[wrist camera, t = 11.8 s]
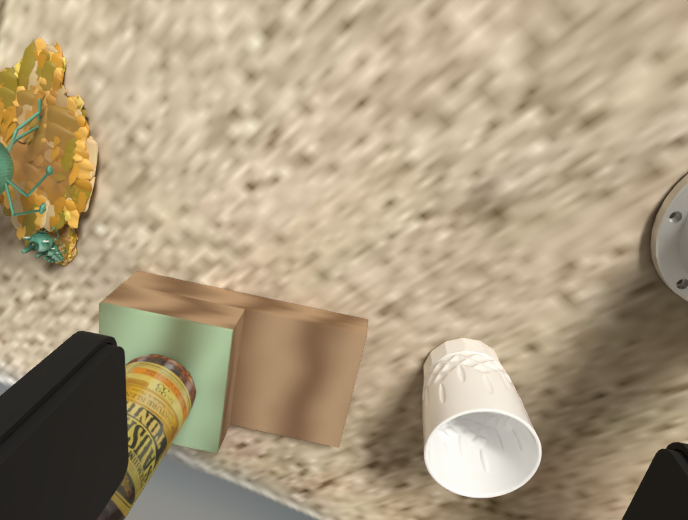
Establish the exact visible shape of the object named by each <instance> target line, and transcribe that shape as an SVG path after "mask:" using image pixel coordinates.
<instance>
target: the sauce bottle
mask: <svg viewBox="0 0 688 520" xmlns="http://www.w3.org/2000/svg"><path fill="white" fill-rule="evenodd" d="M125 369H126V398H127V426H128V454H129V462H128V468H127V471H126V474H125V476H124V479H123V481H122V482H121V484H120V485H119V487H118V489H117V490H116V492H115V493H114V495H113V496H112V498H111V499H110V501H109V502H108V504H107V505H106V507H105V508H104V510H103V511H102V513H101V514H100V516H99V517H98V519H97V520H124V518H125V517H126V516H127V514H128V513H129V511H130V509H131V508H132V506H133V505H134V503H135V502H136V500H137V498H138V497H139V495H140V494H141V492H142V490H143V489H144V487H145V486H146V484H147V482H148V481H149V479H150V478H151V476H152V474H153V473H154V471H155V470H156V468H157V466H158V465H159V463H160V461H161V460H162V458H163V457H164V455H165V453H166V452H167V450H168V449H169V447H170V445H171V444H172V442H173V441H174V439H175V437H176V436H177V434H178V433H179V431H180V429H181V428H182V426H183V424H184V423H185V421H186V420H187V418H188V416H189V414H190V410H191V408H192V406H193V404H194V401H195V397H196V388H195V384H194V381H193V379H192V377H191V375H190V373H189V372H188V371H187V370H186V368H185V367H184V366H182V365H181V364H180V363H178V362H176V361H174V360H172V359H170V358H168V357H165V356H163V355H159V354H150V355H146V356H142V357H138V358H135V359H133V360H131V361H130V362H128V363H127V364H126V365H125Z"/></svg>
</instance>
